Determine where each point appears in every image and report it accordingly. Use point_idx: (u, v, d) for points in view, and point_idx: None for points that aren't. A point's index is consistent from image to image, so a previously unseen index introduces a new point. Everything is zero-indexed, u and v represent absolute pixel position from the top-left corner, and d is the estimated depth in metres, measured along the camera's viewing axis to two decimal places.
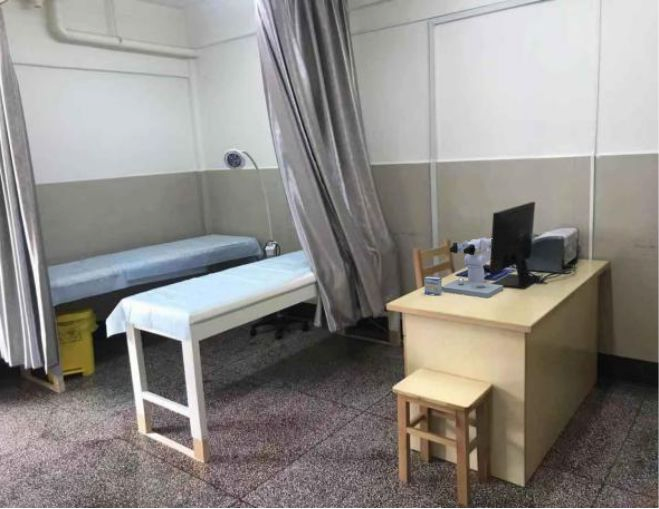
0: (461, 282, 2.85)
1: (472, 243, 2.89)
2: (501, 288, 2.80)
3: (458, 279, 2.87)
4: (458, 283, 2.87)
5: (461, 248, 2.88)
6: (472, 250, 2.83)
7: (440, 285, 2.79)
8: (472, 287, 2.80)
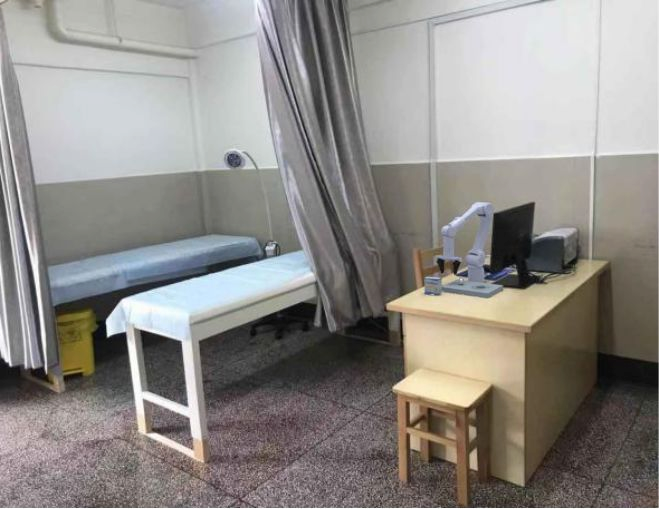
0: (461, 282, 2.85)
1: (449, 250, 2.85)
2: (501, 288, 2.80)
3: (458, 279, 2.87)
4: (458, 283, 2.87)
5: (446, 259, 2.90)
6: None
7: (440, 285, 2.79)
8: (472, 287, 2.80)
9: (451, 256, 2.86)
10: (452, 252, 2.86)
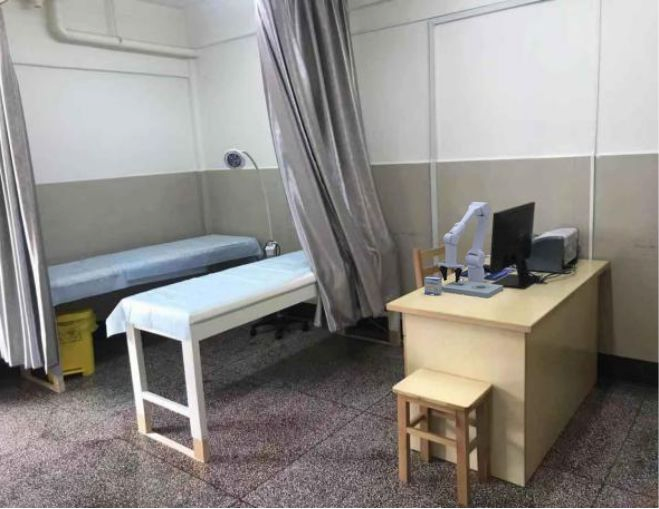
0: (461, 282, 2.85)
1: (452, 258, 2.85)
2: (501, 288, 2.80)
3: (458, 279, 2.86)
4: (458, 283, 2.86)
5: (448, 267, 2.90)
6: None
7: (440, 285, 2.79)
8: (472, 287, 2.80)
9: (453, 264, 2.86)
10: (455, 259, 2.86)
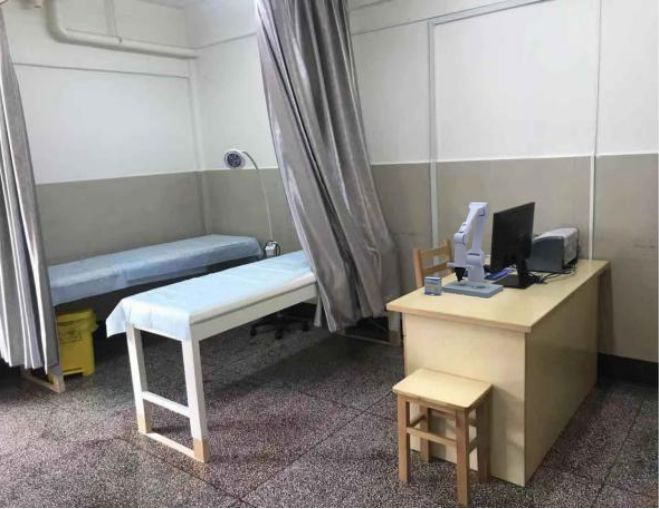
0: (462, 284, 2.85)
1: (461, 258, 2.81)
2: (501, 288, 2.80)
3: (461, 279, 2.85)
4: (459, 282, 2.86)
5: (457, 267, 2.86)
6: None
7: (440, 285, 2.79)
8: (472, 287, 2.80)
9: (463, 264, 2.82)
10: (464, 259, 2.82)
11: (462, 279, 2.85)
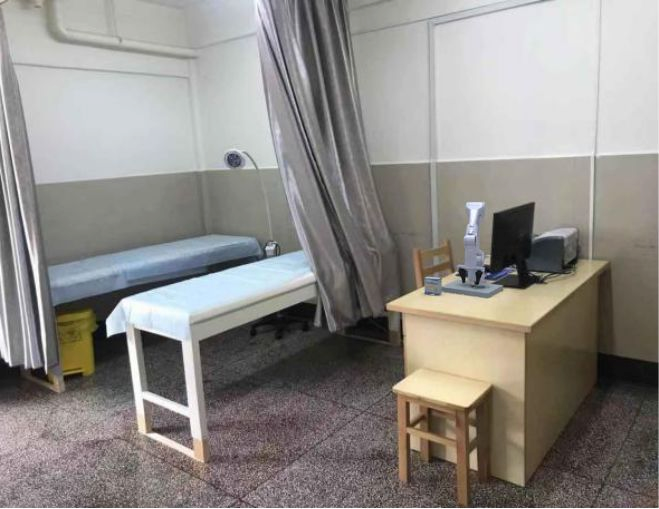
0: (472, 281, 2.81)
1: (472, 260, 2.78)
2: (501, 288, 2.80)
3: (471, 285, 2.82)
4: (475, 284, 2.81)
5: (467, 269, 2.83)
6: None
7: (440, 285, 2.79)
8: (472, 287, 2.80)
9: (473, 266, 2.79)
10: (475, 261, 2.79)
11: None
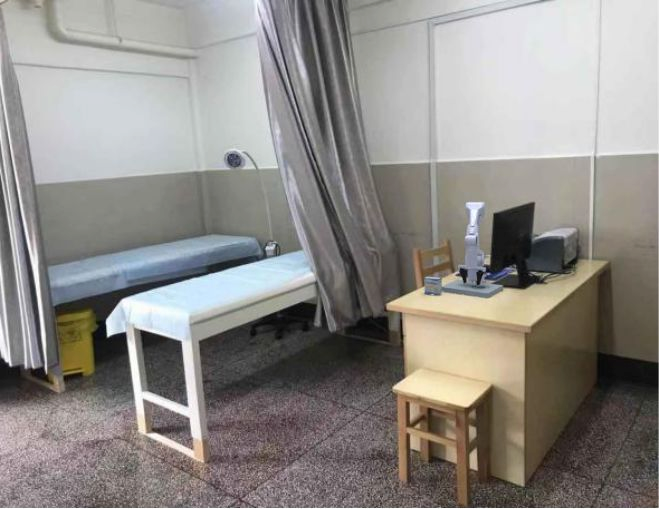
0: (475, 282, 2.80)
1: (473, 260, 2.78)
2: (501, 288, 2.80)
3: (472, 285, 2.82)
4: (475, 286, 2.81)
5: (468, 269, 2.83)
6: None
7: (440, 285, 2.79)
8: (472, 287, 2.80)
9: (474, 266, 2.78)
10: (476, 261, 2.78)
11: None
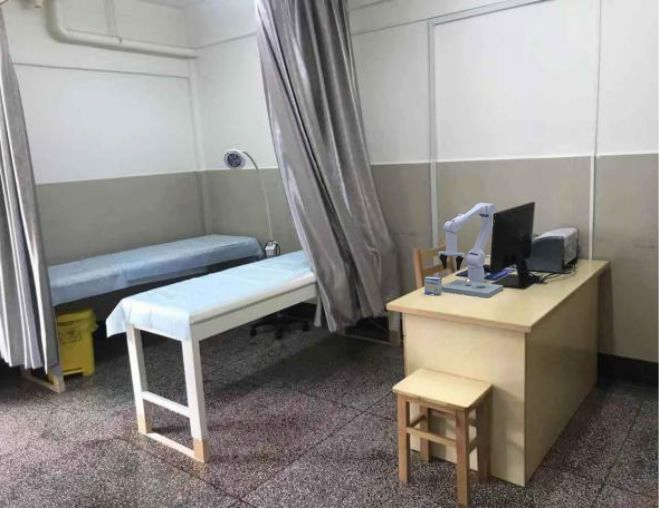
0: (465, 281, 2.84)
1: (452, 246, 2.85)
2: (501, 288, 2.80)
3: (469, 284, 2.83)
4: (469, 280, 2.83)
5: (448, 255, 2.90)
6: None
7: (440, 285, 2.79)
8: (472, 287, 2.80)
9: (454, 252, 2.86)
10: (455, 247, 2.86)
11: None
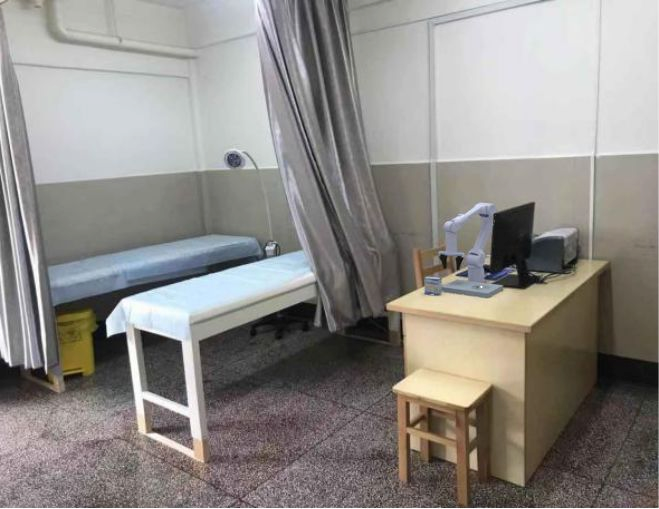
0: None
1: (452, 246, 2.85)
2: (501, 288, 2.80)
3: (482, 287, 2.78)
4: (478, 287, 2.79)
5: (448, 255, 2.90)
6: None
7: (440, 285, 2.79)
8: (472, 287, 2.80)
9: (454, 252, 2.86)
10: (455, 247, 2.86)
11: None
